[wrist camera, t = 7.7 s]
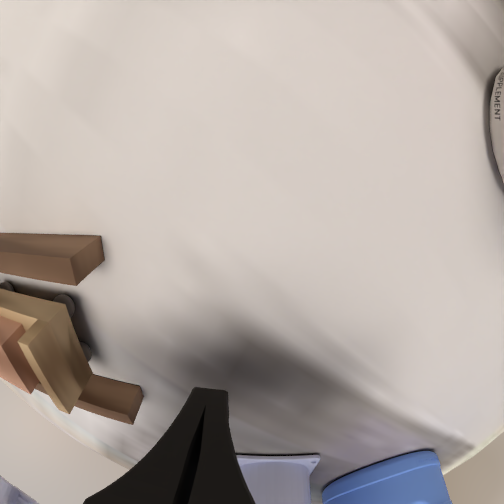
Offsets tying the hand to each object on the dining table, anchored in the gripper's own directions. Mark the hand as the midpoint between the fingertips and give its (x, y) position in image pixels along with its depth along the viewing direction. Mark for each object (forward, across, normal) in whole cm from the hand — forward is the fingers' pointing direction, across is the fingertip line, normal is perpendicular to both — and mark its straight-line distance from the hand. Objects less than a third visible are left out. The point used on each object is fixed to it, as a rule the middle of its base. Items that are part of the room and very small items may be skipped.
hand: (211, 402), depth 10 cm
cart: (+3, +12, 0) cm, 12 cm away
